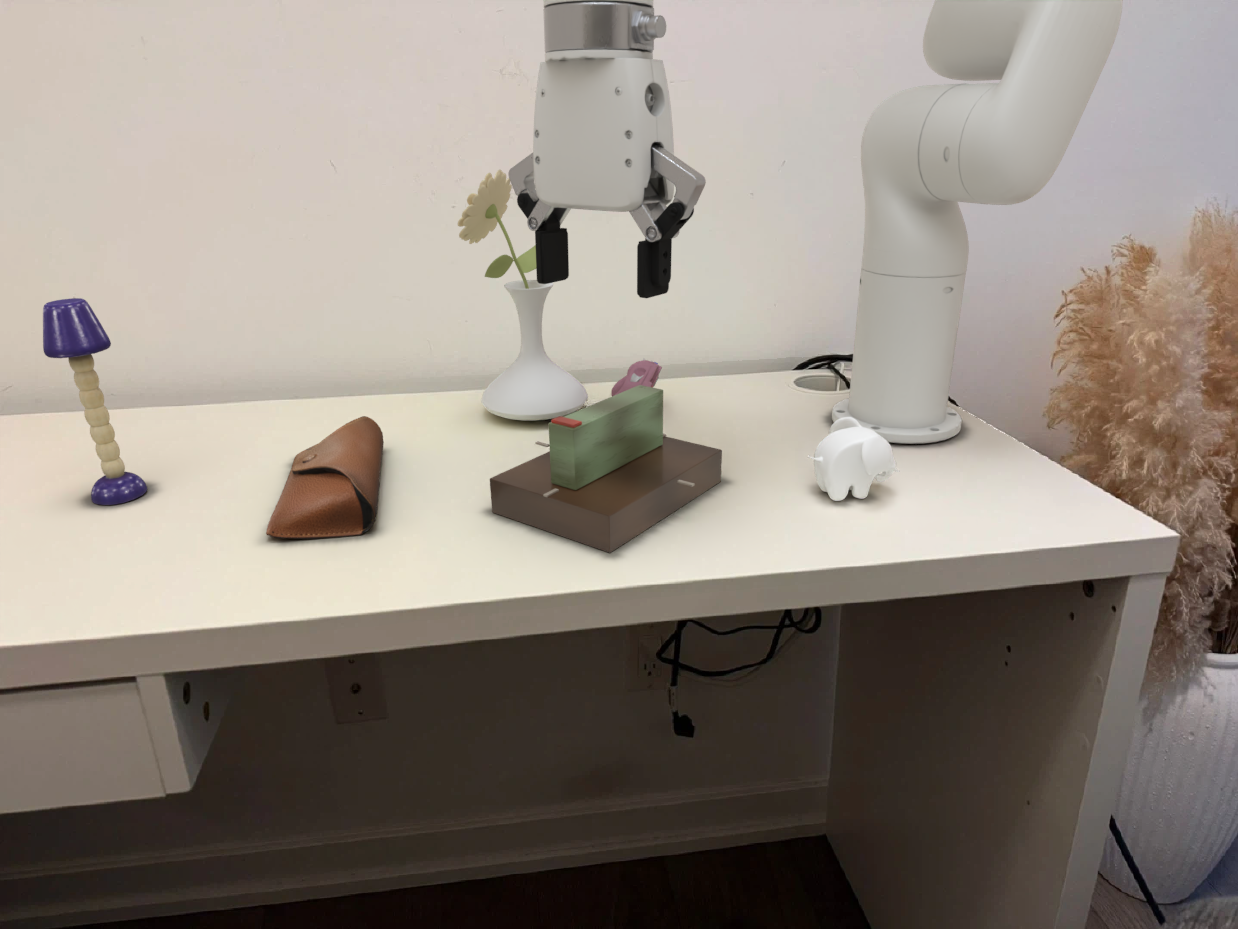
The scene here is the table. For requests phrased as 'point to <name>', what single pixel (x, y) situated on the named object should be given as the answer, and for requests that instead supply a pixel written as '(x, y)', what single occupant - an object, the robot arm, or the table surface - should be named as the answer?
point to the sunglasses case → (332, 486)
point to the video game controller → (638, 376)
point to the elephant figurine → (852, 459)
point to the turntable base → (608, 494)
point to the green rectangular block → (605, 436)
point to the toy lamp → (90, 391)
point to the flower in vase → (533, 376)
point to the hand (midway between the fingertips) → (601, 287)
